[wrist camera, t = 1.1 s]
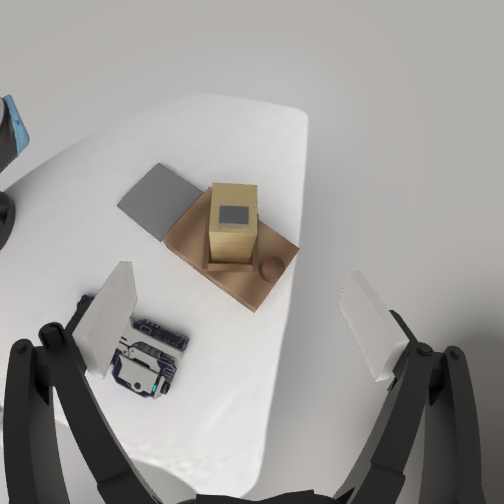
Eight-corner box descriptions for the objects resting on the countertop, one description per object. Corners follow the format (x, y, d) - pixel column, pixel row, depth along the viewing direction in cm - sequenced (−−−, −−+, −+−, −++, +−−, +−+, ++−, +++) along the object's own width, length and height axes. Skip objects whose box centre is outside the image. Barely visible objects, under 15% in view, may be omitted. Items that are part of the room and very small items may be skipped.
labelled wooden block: (212, 262, 39) (208, 227, 27) (214, 223, 41) (212, 177, 29) (248, 264, 39) (258, 229, 28) (248, 225, 41) (258, 179, 30)
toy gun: (58, 363, 35) (88, 286, 40) (156, 423, 34) (191, 338, 39) (49, 363, 33) (80, 282, 38) (152, 427, 31) (188, 337, 37)
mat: (118, 207, 45) (116, 205, 44) (159, 165, 48) (158, 162, 47) (160, 242, 43) (159, 240, 43) (203, 194, 47) (203, 192, 46)
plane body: (166, 248, 43) (158, 232, 37) (210, 198, 47) (209, 177, 41) (253, 313, 41) (258, 308, 35) (294, 256, 45) (305, 241, 39)
